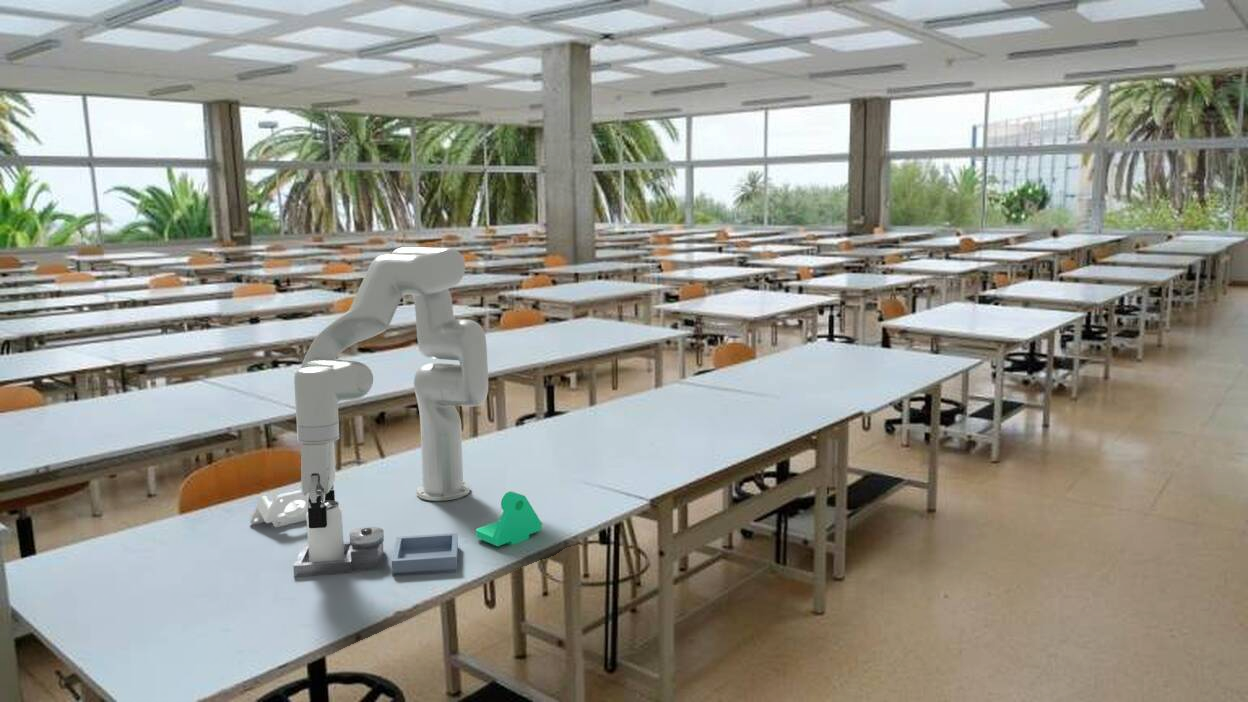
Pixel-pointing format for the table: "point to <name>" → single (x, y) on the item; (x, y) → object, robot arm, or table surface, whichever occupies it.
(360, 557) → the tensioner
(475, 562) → the table surface
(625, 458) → the table surface
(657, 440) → the table surface
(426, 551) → the tray
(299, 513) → the mounting bracket
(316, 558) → the can
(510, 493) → the camera mount
